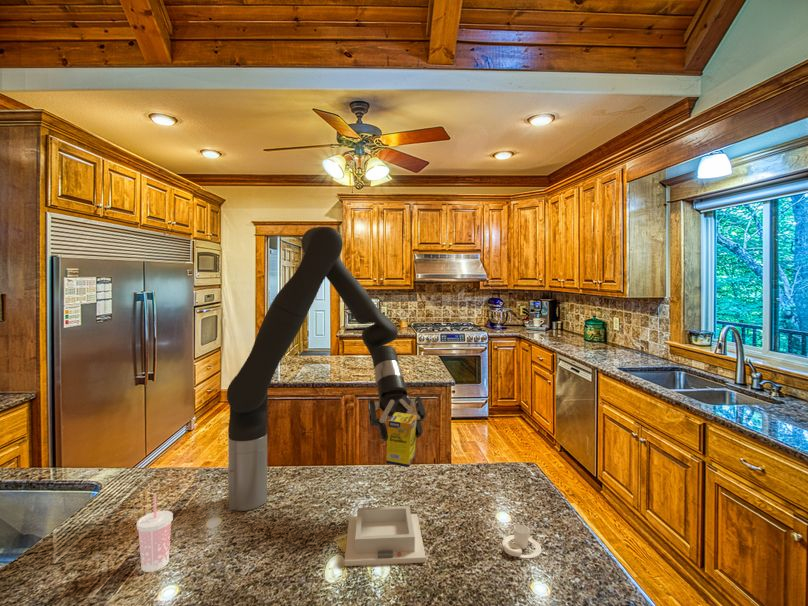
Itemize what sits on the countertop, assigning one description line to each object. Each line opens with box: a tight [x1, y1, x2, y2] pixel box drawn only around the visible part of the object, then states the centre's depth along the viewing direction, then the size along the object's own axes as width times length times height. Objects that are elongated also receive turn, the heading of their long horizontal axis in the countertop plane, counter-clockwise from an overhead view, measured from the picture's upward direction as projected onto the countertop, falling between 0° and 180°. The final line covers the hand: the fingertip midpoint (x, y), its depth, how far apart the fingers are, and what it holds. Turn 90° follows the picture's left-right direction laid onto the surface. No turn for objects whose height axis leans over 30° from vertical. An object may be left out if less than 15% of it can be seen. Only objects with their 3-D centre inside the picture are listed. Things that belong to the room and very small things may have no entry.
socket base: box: [343, 505, 427, 567], centre depth 87 cm, size 16×16×4 cm
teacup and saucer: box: [501, 524, 542, 559], centre depth 85 cm, size 9×8×4 cm
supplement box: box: [385, 412, 417, 468], centre depth 98 cm, size 6×6×11 cm
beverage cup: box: [136, 492, 174, 573], centre depth 79 cm, size 6×6×14 cm
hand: (402, 438), depth 98 cm, fingers closed on supplement box, 8 cm apart
